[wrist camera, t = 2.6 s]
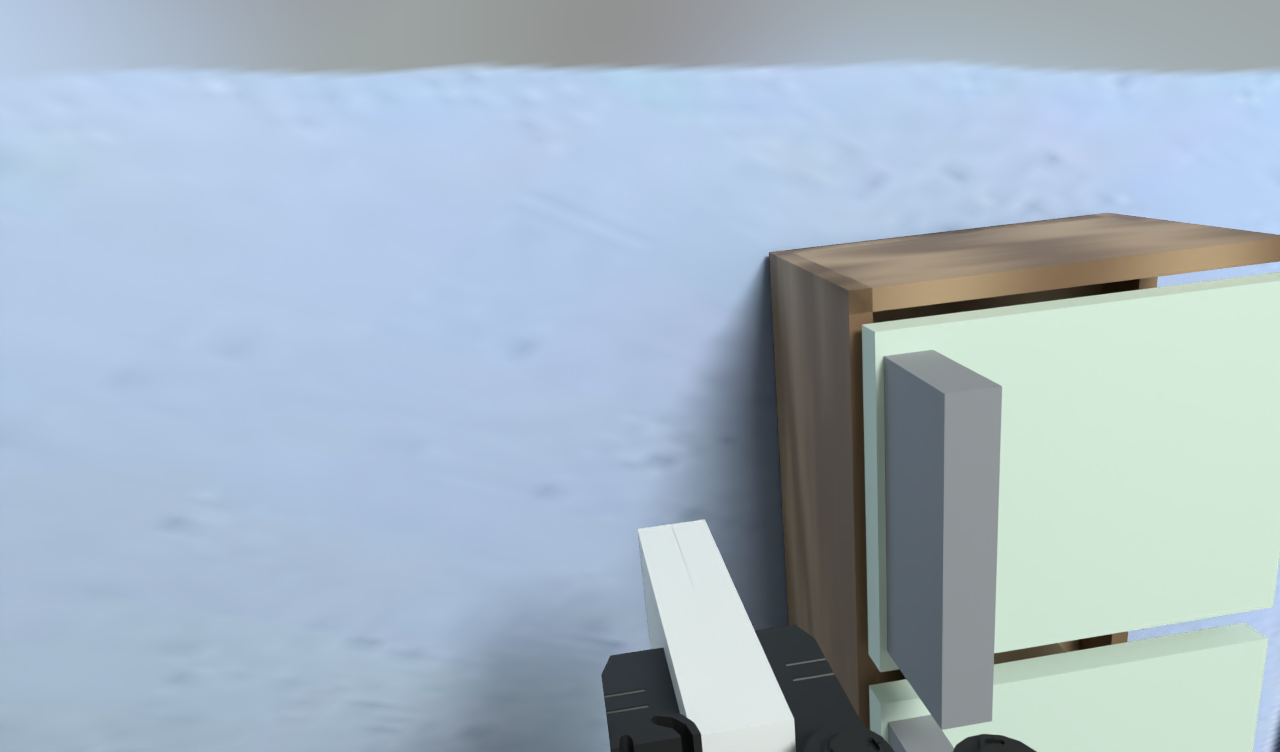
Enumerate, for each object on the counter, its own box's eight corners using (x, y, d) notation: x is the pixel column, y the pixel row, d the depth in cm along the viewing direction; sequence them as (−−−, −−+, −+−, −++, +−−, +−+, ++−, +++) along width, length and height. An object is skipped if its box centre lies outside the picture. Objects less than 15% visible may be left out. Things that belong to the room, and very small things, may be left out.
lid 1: (868, 654, 22) (933, 753, 19) (861, 324, 20) (935, 366, 16) (1248, 591, 24) (1379, 674, 20) (1290, 270, 21) (1449, 298, 17)
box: (806, 978, 35) (870, 1173, 29) (769, 252, 27) (848, 290, 20) (1061, 927, 37) (1179, 1104, 30) (1107, 212, 28) (1291, 236, 21)
